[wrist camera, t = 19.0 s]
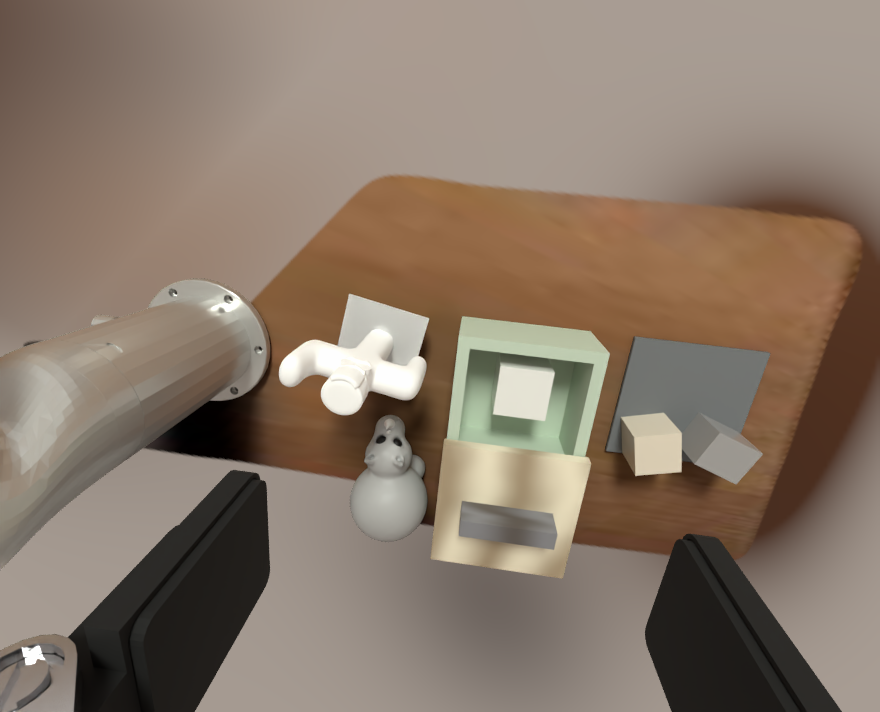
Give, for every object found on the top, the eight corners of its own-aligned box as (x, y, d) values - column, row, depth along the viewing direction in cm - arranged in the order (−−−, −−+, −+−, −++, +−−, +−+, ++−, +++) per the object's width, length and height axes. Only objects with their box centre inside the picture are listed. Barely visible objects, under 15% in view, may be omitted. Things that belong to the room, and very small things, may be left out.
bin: (441, 489, 48) (436, 530, 42) (462, 316, 41) (458, 335, 35) (552, 504, 47) (562, 548, 41) (590, 331, 41) (609, 353, 35)
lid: (431, 551, 42) (427, 581, 39) (444, 438, 38) (440, 461, 35) (560, 570, 41) (567, 602, 38) (588, 457, 37) (599, 482, 34)
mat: (605, 448, 44) (606, 450, 44) (634, 336, 40) (635, 337, 40) (726, 464, 44) (728, 467, 43) (767, 352, 40) (770, 353, 39)
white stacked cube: (491, 391, 43) (492, 414, 38) (498, 347, 41) (500, 366, 36) (538, 397, 42) (545, 421, 38) (546, 353, 41) (554, 372, 36)
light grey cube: (675, 441, 43) (694, 464, 39) (698, 412, 42) (720, 432, 38) (714, 460, 43) (736, 484, 40) (737, 431, 42) (763, 453, 38)
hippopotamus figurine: (437, 401, 44) (427, 446, 36) (430, 503, 49) (420, 564, 40) (365, 394, 45) (338, 437, 37) (364, 495, 49) (340, 555, 41)
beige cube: (622, 452, 44) (635, 475, 40) (620, 417, 43) (634, 437, 39) (664, 448, 43) (681, 471, 40) (663, 412, 42) (681, 432, 38)
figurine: (424, 379, 44) (396, 462, 30) (333, 351, 44) (263, 422, 30) (444, 312, 41) (425, 368, 27) (349, 282, 41) (280, 323, 27)
